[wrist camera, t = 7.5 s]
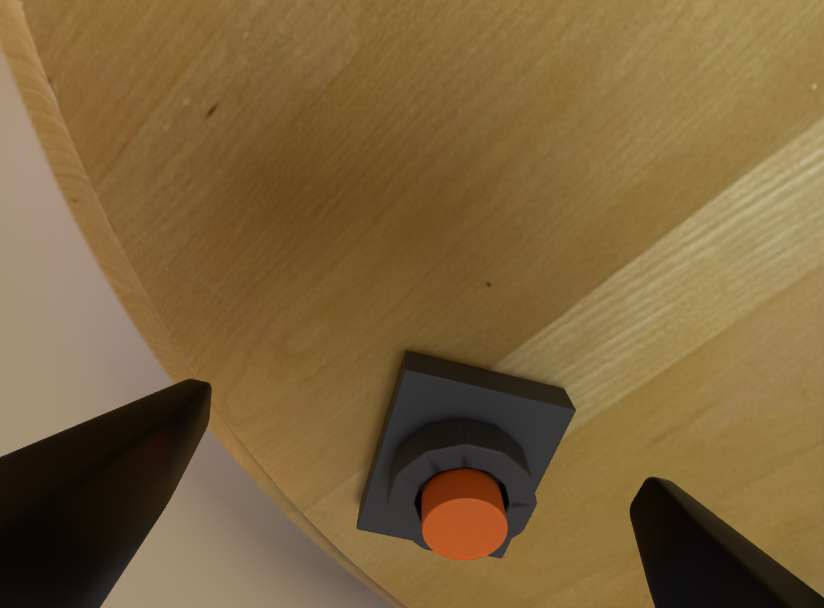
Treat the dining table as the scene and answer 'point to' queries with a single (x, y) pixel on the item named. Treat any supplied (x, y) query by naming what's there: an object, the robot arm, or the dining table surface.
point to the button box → (461, 442)
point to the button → (463, 514)
